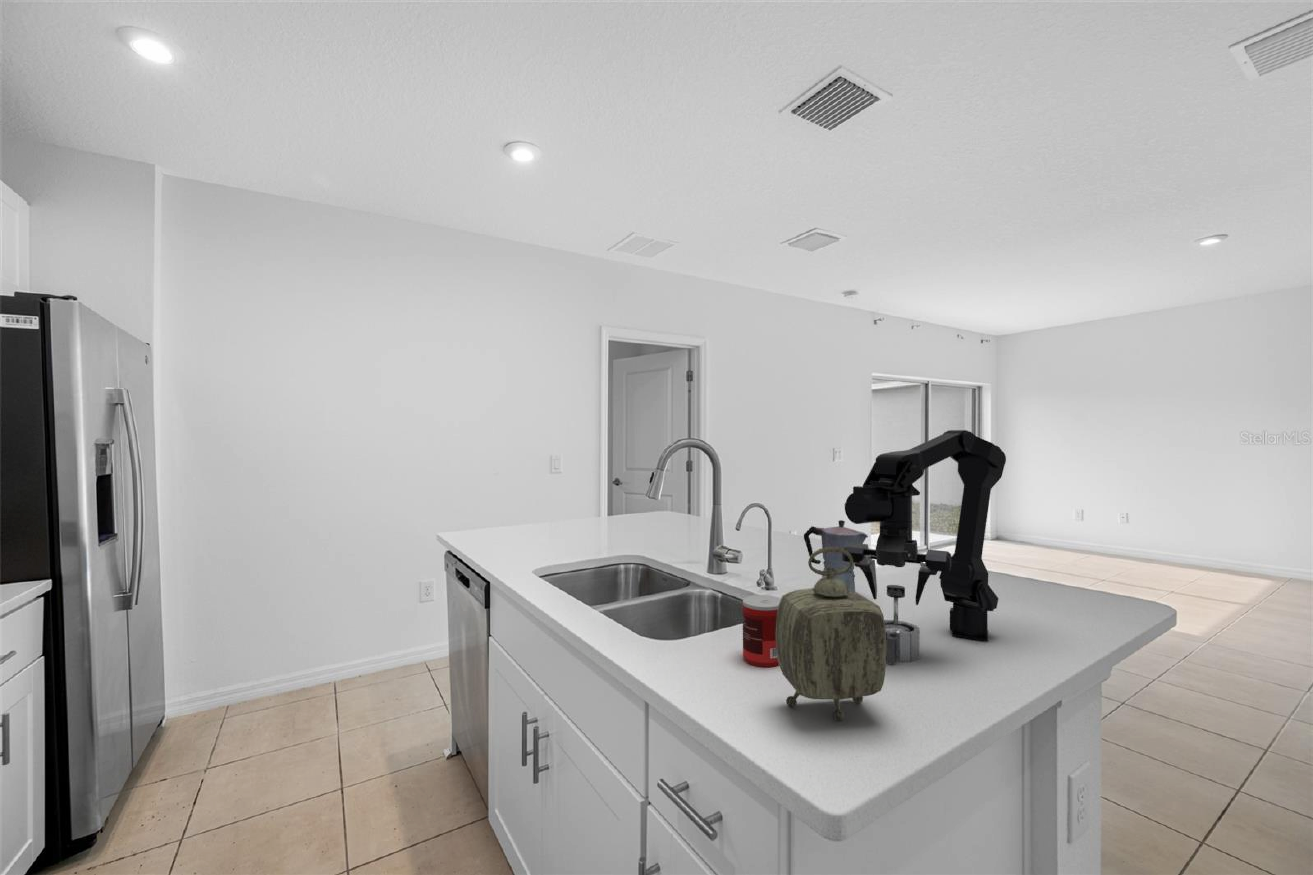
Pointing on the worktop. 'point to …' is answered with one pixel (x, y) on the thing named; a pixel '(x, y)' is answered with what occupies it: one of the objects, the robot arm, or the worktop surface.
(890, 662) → the press carafe
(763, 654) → the canned food
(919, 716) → the worktop surface
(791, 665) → the tabletop clock
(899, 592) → the plunger
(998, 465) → the robot arm
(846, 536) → the moka pot
